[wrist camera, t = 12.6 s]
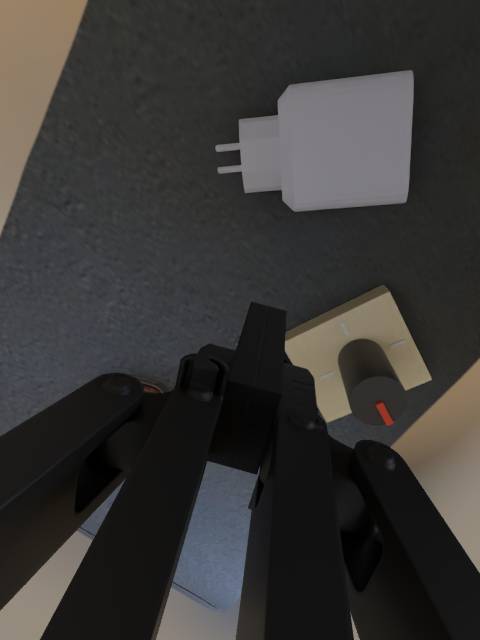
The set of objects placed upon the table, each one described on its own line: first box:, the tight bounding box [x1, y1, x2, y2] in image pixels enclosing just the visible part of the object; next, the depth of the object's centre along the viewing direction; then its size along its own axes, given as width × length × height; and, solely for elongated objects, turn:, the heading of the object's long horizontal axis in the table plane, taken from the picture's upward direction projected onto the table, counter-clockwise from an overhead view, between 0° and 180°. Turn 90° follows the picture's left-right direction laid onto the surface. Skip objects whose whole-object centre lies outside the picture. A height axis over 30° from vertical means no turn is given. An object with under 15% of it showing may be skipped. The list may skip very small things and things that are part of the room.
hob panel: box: [285, 285, 432, 423], centre depth 40 cm, size 11×10×3 cm
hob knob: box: [338, 339, 407, 426], centre depth 35 cm, size 4×4×8 cm
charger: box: [215, 70, 414, 212], centre depth 33 cm, size 5×9×15 cm
